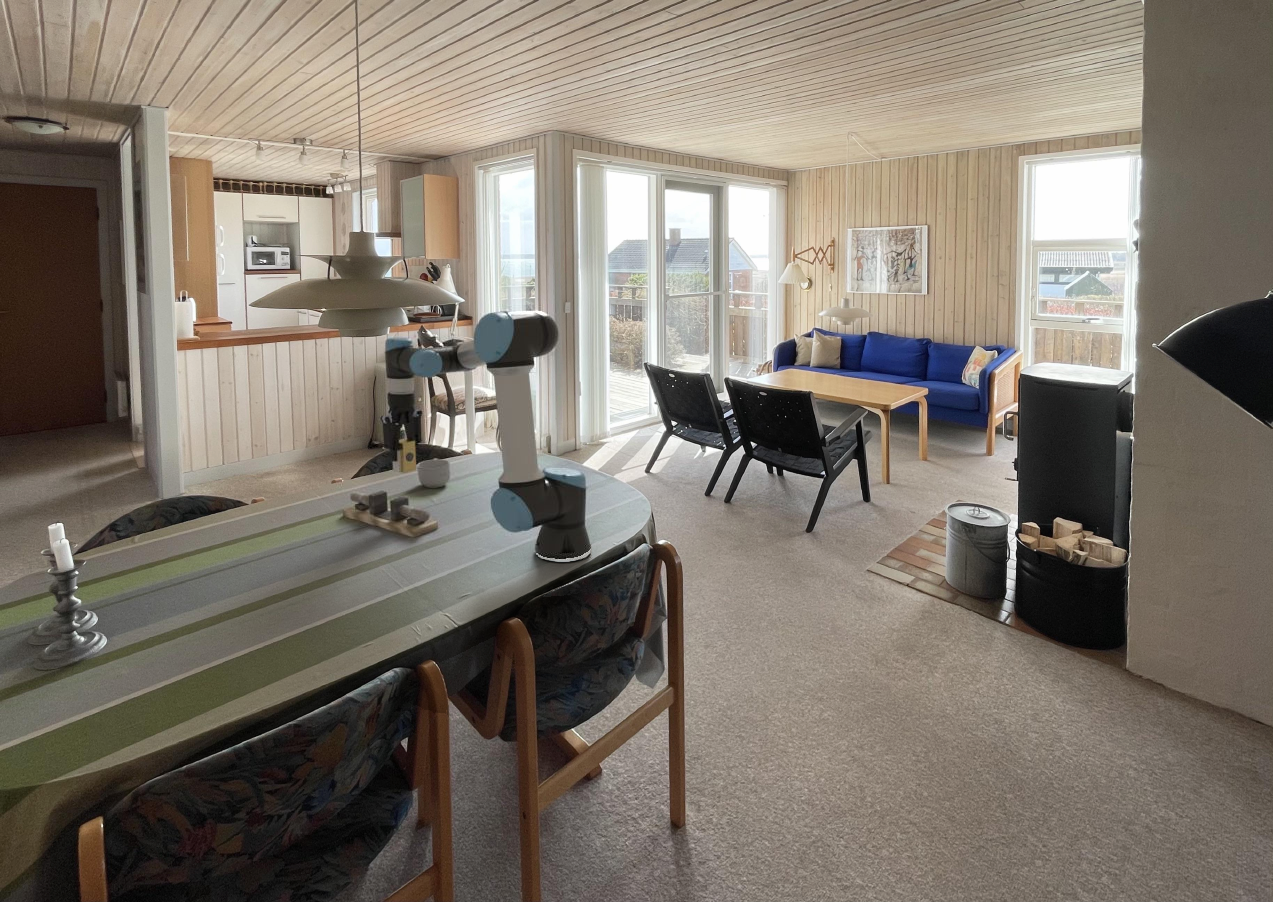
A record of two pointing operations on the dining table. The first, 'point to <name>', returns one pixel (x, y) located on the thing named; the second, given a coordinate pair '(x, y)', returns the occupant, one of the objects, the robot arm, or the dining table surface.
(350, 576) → the dining table surface
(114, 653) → the dining table surface
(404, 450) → the block
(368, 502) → the shaft rig
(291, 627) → the dining table surface
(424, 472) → the teacup
